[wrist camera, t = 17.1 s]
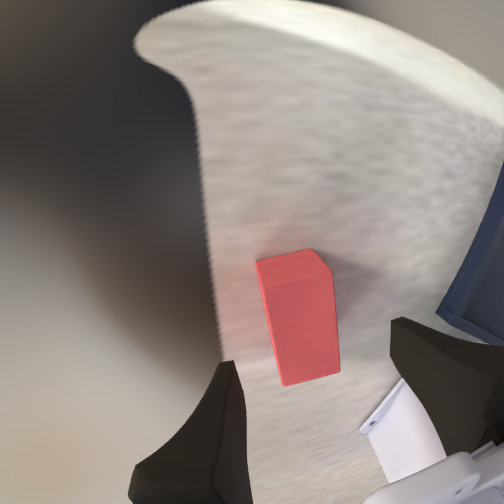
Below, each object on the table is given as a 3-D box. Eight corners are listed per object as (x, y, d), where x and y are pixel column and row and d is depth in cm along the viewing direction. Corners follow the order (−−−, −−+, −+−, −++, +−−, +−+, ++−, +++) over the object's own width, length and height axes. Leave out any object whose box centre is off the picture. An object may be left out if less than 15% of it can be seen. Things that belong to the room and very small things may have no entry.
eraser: (323, 338, 18) (341, 372, 15) (273, 350, 18) (282, 387, 15) (312, 247, 17) (332, 270, 13) (254, 260, 17) (261, 286, 13)
